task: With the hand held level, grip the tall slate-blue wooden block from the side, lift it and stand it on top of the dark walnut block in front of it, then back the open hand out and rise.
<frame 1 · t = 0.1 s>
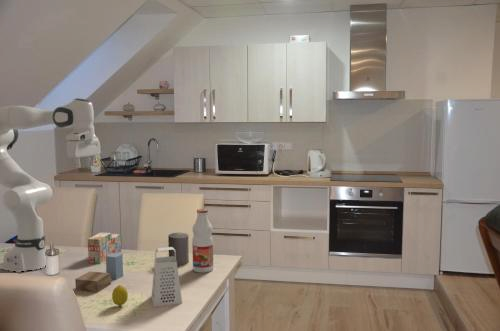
hand: (85, 166, 208), 48 cm above the table, tool pointing down, fingers open, 8 cm apart
lemon: (120, 306, 173), on the table
walnut block: (93, 287, 193), on the table
fruit juice: (203, 270, 215), on the table
grater: (166, 300, 180), on the table
pillar candle: (179, 263, 225), on the table
slate block: (114, 277, 205), on the table
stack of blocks: (105, 257, 236), on the table
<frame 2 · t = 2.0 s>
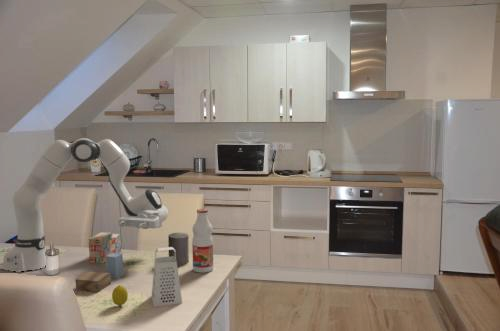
hand: (129, 225, 215), 20 cm above the table, tool horizontal, fingers open, 8 cm apart
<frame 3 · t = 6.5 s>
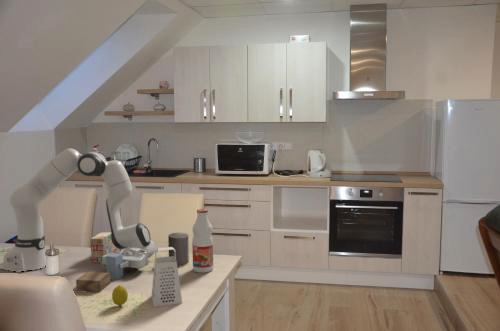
hand: (113, 265, 204), 6 cm above the table, tool horizontal, fingers closed on slate block, 5 cm apart
slate block: (114, 277, 205), on the table, touching gripper
when the fingers open (12 cm above the table, at t = 11.4 s): slate block drops 2 cm, resting on walnut block.
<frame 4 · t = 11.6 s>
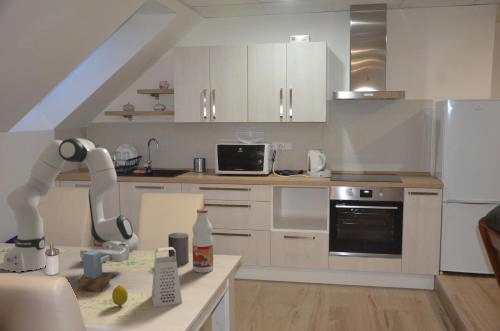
hand: (91, 259, 191), 12 cm above the table, tool horizontal, fingers open, 7 cm apart
walnut block: (93, 288, 193), on the table, touching slate block
slate block: (93, 276, 193), point 5 cm above the table, touching walnut block
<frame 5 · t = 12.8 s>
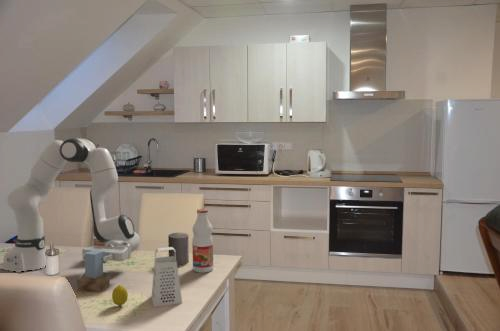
hand: (93, 258, 193), 12 cm above the table, tool horizontal, fingers open, 8 cm apart
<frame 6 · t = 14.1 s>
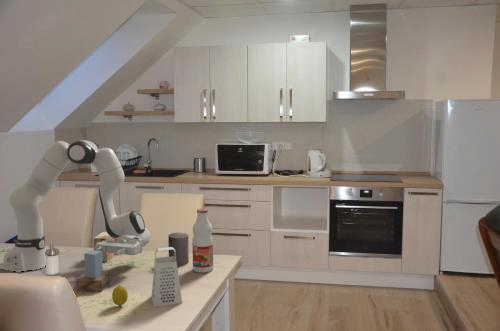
hand: (106, 252, 201), 12 cm above the table, tool horizontal, fingers open, 8 cm apart
walnut block: (93, 288, 193), on the table
slate block: (93, 276, 193), point 5 cm above the table
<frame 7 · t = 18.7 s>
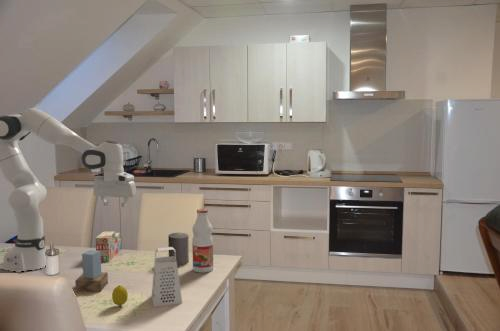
hand: (115, 206, 215), 29 cm above the table, tool pointing down, fingers open, 8 cm apart
walnut block: (92, 288, 193), on the table, touching slate block
slate block: (92, 276, 193), point 5 cm above the table, touching walnut block
at the end: slate block 0.4 cm off-centre on the walnut block, point 5.0 cm above the walnut block's base; slate block tilted 1°; the gripper is holding nothing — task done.
